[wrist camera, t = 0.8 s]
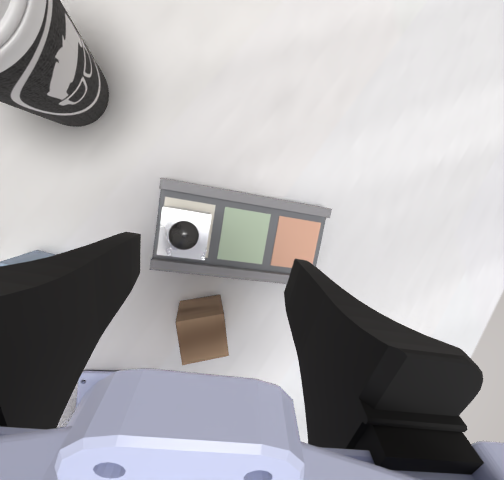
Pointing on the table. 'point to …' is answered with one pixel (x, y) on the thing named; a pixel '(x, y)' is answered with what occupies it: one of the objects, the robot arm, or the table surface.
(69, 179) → the table surface
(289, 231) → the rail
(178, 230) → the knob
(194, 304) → the walnut block
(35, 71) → the coffee cup
